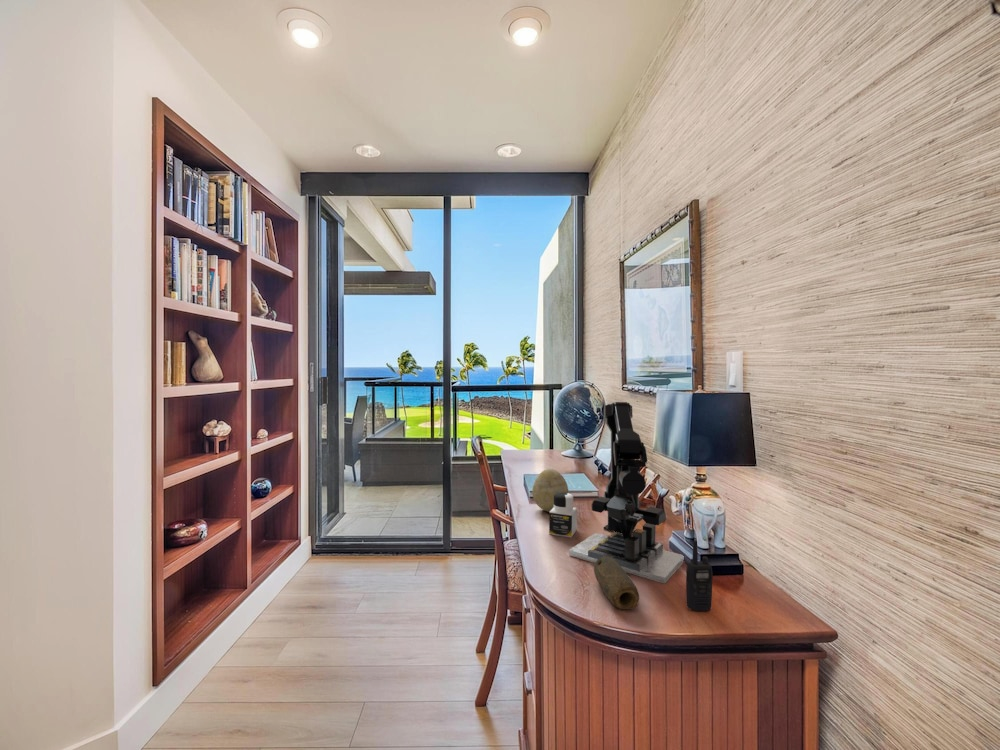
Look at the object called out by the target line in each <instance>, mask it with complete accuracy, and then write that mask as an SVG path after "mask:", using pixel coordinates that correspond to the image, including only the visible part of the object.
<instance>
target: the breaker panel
mask: <svg viewBox="0 0 1000 750" xmlns="http://www.w3.org/2000/svg"><path fill="white" fill-rule="evenodd" d="M656 526H657V525H652V524H648V523H645V524H643V525H642V530H645V531H646V550H644V551H643V552H642V553H640V552H639V538H638V537H634V536H633V535H631V536H628V537H627V538H626V539H625V540H624V537H623V534H622V533H618V532H614V531H613V533H611V534H610V535H605V534H602V533H599V532H598V533H597V532H594V533H593V534H592V535H590V536H589V537H587V538H586V539H584V540H582V541H581V542H579V543H577V544H576V545H574V546H573V547H571V548H570V549H568V555H569V557H574V558H577V559H581V560H584V561H586V562H590V563H594V564H595V562H596V561H597V560H598V559H599V558H600V557H604V556H607V557H610V558H612V559H614V560H615V561H616V562H617V563H618V564H619V565H620V566H621V567H622V569H623V570H624V571H625V572H626V574H630V575H634V576H637V577H641V578H643V579H648V580H651V581H655V582H657V583H661V584H666V583H667V582H668V581H669V580H670V578H671V577H672V576H673V575H674V574H675V573H676V572H677V570H679V568H680V567H681V566H682V565H683V564H684V563H683V560H684V556H683V555H684V554H680V553H677V552H672V551H668V550H665V549H664V544H663V543H661V542H658V541H656V529H657V527H656ZM682 563H683V564H682Z"/></svg>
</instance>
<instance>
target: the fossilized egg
mask: <svg viewBox="0 0 1000 750" xmlns="http://www.w3.org/2000/svg"><path fill="white" fill-rule="evenodd" d="M560 492H565V493H569V487H568V483H567V481H566V479H565V477H564V476H563V475H562V474H561V473H560V472H559V471H558V470H557V469H555V468H546V469H544V470H542V471H541V472H540V473H539V474H538V475H537V477H536V478H535V479H534V482H533V484H532V498H533V500H534V502H535V504H536V505H537V506H538V507H539V509H541V510H542V511H545V512H550V511H551V510H552V508H553V507H554V495H555V494H556V493H560Z"/></svg>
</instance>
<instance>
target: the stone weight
mask: <svg viewBox="0 0 1000 750" xmlns="http://www.w3.org/2000/svg"><path fill="white" fill-rule="evenodd" d="M593 572H594V577H595V579H596V580H597V583H598V585H599V586H600V587H601V590H603V593H604V594H605V596H606V597H607V599H608V600H609V601H610V602H611V604H612V605H613V606H614V607H616V608H617V609H620V610H631V609H634V608H636V607H637V606H638V604H639V603H640V602H639V601H640V594H639V589H638V587H637V586H636V584H635V583H634V581H633V579H632V578H630V576H629V575H628V573H627V572H625V571H624V570H623V569H622V567H621V566H620V565H619V564H618V563H617V562H616V561H615V560H614V559H612V558H610V557H607V556H604V557H600V558H599V559H598V560H597V561H596V562H595V563H594V564H593Z"/></svg>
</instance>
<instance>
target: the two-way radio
mask: <svg viewBox="0 0 1000 750" xmlns="http://www.w3.org/2000/svg"><path fill="white" fill-rule="evenodd" d="M698 552H699V550H698V540H696V539H693V541H692V558H691V559H690V561H689V562H688V563H687V565H686V572H685V573H686V574H685V579H686V580H685V581H686V582H685V584H686V585H685V586H686V588H685V595H686V599H685V600H686V607H687V608H688V609H689V610H690V611H694V612H701V611H702V612H703V611H704V612H705V611H707V612H708V611H711V609H712V603H713V601H712V600H713V599H712V598H713V575H714V574H713V567H712V565H711V564H710V563H709V559H708V557H707V556H705V555H704V556H702V560H701V561H700V560H698V559H699V557H698V554H699V553H698Z"/></svg>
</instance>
